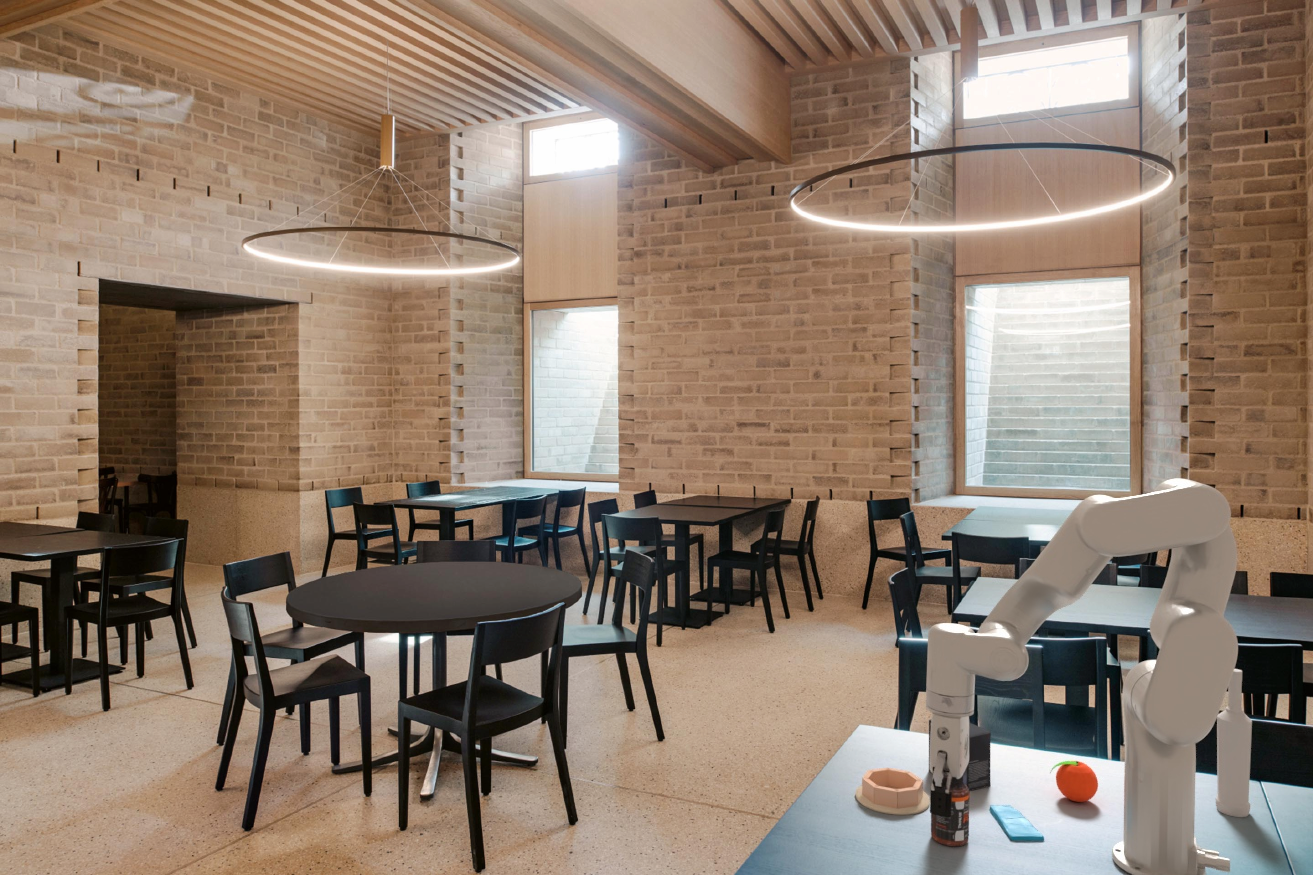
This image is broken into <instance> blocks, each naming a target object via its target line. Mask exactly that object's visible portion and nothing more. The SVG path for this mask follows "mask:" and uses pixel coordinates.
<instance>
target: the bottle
mask: <svg viewBox="0 0 1313 875" xmlns="http://www.w3.org/2000/svg"><path fill="white" fill-rule="evenodd" d="M1242 682H1243V670H1242V669H1238V668H1234V671H1233V674H1232V677H1231V680H1230V682H1229V685H1228V688H1227V690H1228V691H1227V692H1228V693H1227V695H1228V696H1227V706H1226V707H1225V709H1224V710H1223V711H1221V712H1219V713H1218V716H1217V718H1216V723H1217V724H1216V738H1217V739H1216V745H1217V747H1216V750H1217V752H1216V756H1217V758H1216V762H1217V763H1216V770H1217V772H1216V774H1217V776H1216V778H1217V780H1216V781H1217V782H1216V783H1217V795H1216V797H1215V806H1216V809H1217V811H1218V812H1220V813H1221V814H1224V815H1226V816H1230V817H1235V818H1246V817H1248V816H1249V814H1250V811H1251V804H1250V801H1249V799H1250V798H1249V796H1250V779H1251V778H1250V776H1251V775H1250V774H1251V753H1252V749H1251V748H1252V732H1253V731H1252V729H1253V727H1252V726H1253V720H1252V719H1251V718H1250V717H1249V716H1248V715H1247V714H1246V713H1245V712H1244V709H1243V707H1242V694H1243V693H1242V692H1243V691H1242V686H1243V683H1242Z"/></svg>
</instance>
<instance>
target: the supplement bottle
mask: <svg viewBox="0 0 1313 875" xmlns="http://www.w3.org/2000/svg"><path fill="white" fill-rule="evenodd" d="M944 772H949V771H947V770H944ZM943 779H944V780H945V782H946V783H947V778H944V777H943ZM950 792H952V806H951V817H950V818H947V817H942V816H938V815H934V814H931V813H930V836H931V838H932V839H933V840H934V841H936V842H937V843H938V844H941V845H944V846H950V847H961V846H964V845H966V844H967V843H968V842H969V837H970V826H969V825H970V791H969V789H968V787H967V786H966V785H965V784H964V783H963V775H962V777H961V778H960V779H956V777H952V781H951V788H950Z"/></svg>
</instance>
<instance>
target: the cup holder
mask: <svg viewBox="0 0 1313 875" xmlns="http://www.w3.org/2000/svg"><path fill="white" fill-rule="evenodd" d="M855 799H856V801H857V802H858V803H859V804H861V805H862V806H864V807H865V808H867V809H870V810H872V811H874V812H877V813H882V814H886V815H894V816H910V815H916V814H920V813H922V812H925V811H926V810H927V809H928V808H930V796H929V795H928V793H927V792H926V791H924V780H923V779H921V778H920V777H918V776H917V775H916V774H914V773H913V772H912V771H910V770H903V769H898V768H893V767H882V768H873V769H868V770H867V771H866V772H865V774H864V775H863V777H862V778H861V785H859V786H858V787H857V788H856V790H855Z"/></svg>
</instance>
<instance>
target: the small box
mask: <svg viewBox="0 0 1313 875" xmlns="http://www.w3.org/2000/svg"><path fill="white" fill-rule="evenodd" d="M931 720H932V718H931V719H929V720H928V772H930V773H931V771H930V735H931ZM991 737H992V733H991V731H990V730H988V729H986V728H983V727H981V726H979V725H976V724H974V723H972V722H969V763H968V765H967V767H966V770H965V772H964V774H963V783H964V784H965V785H966V786H967V787H968V789H969V792H971V791H975V790H980V789H983V788H988V787H991Z"/></svg>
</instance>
